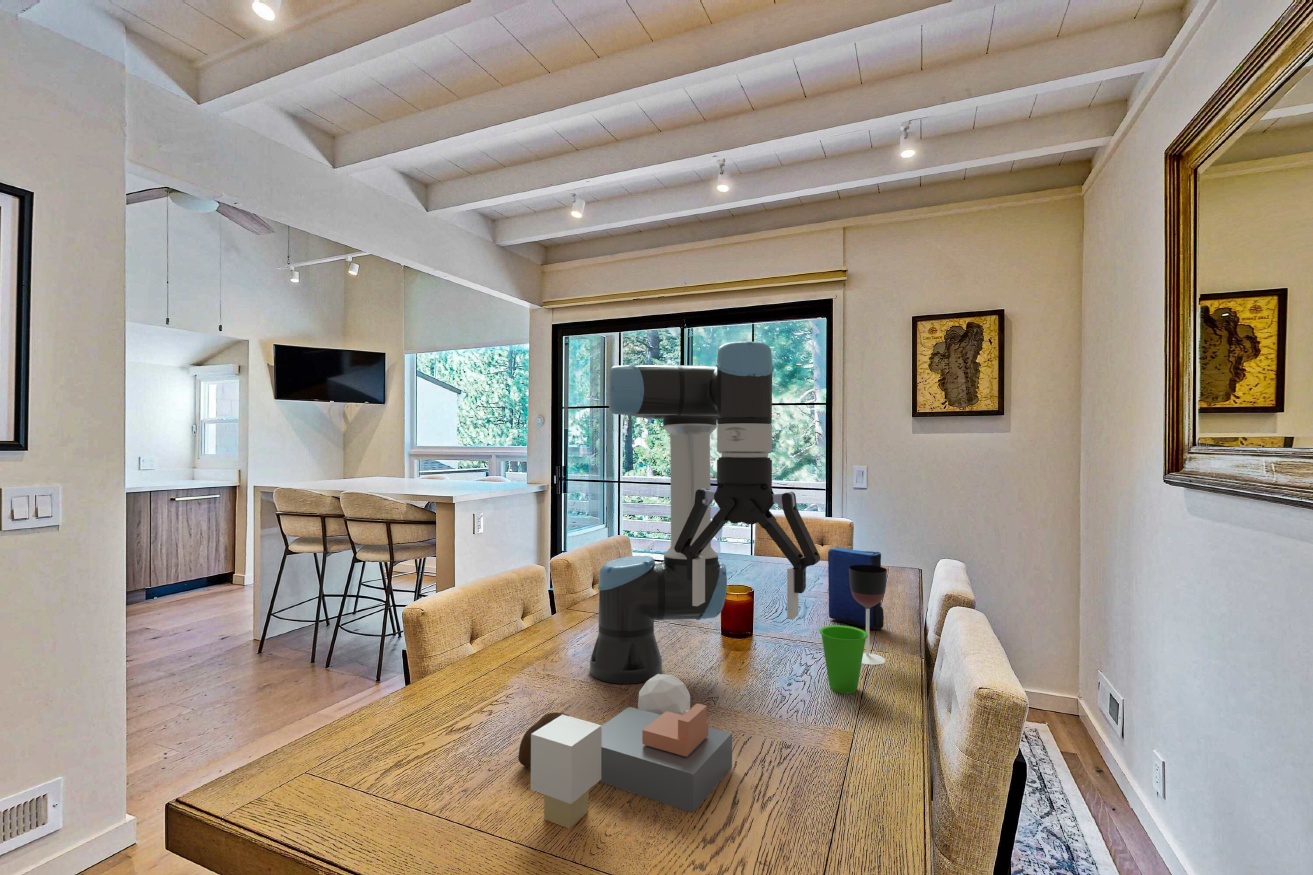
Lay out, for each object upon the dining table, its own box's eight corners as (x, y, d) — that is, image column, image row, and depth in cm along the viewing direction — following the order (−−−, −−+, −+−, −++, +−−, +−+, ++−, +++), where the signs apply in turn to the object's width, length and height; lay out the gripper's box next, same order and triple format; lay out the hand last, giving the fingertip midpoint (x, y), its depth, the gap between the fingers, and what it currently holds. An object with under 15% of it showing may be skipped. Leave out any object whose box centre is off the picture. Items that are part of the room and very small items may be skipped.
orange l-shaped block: (642, 743, 87) (642, 712, 87) (666, 724, 93) (666, 694, 93) (686, 756, 83) (686, 723, 83) (708, 735, 89) (708, 704, 89)
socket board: (580, 775, 88) (580, 740, 88) (628, 737, 99) (628, 706, 99) (693, 813, 79) (693, 774, 79) (731, 766, 91) (732, 732, 91)
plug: (530, 820, 78) (531, 733, 78) (562, 795, 83) (562, 714, 83) (571, 837, 74) (571, 746, 74) (601, 809, 80) (601, 725, 80)
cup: (870, 699, 114) (871, 640, 114) (820, 695, 116) (820, 637, 116) (864, 681, 123) (864, 626, 123) (818, 677, 125) (818, 623, 125)
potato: (508, 761, 92) (509, 715, 92) (570, 741, 98) (570, 697, 98) (529, 782, 86) (529, 732, 86) (593, 759, 93) (593, 713, 93)
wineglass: (847, 662, 134) (847, 570, 134) (850, 649, 142) (850, 563, 142) (886, 667, 131) (886, 573, 131) (887, 654, 139) (887, 566, 139)
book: (886, 628, 158) (886, 551, 158) (875, 633, 155) (875, 553, 155) (836, 616, 169) (837, 544, 169) (826, 620, 165) (826, 546, 165)
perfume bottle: (620, 717, 103) (670, 751, 94) (637, 663, 104) (688, 692, 95) (653, 716, 109) (704, 749, 100) (669, 665, 110) (721, 693, 101)
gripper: (651, 454, 87) (651, 604, 87) (830, 457, 75) (830, 630, 75) (675, 454, 93) (674, 593, 93) (842, 456, 82) (842, 615, 81)
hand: (744, 610), depth 84 cm, fingers open, 13 cm apart
